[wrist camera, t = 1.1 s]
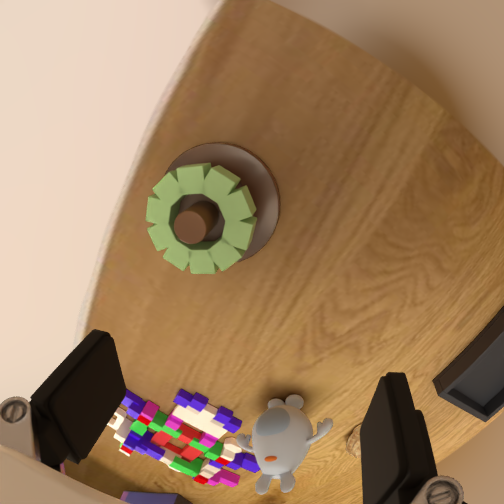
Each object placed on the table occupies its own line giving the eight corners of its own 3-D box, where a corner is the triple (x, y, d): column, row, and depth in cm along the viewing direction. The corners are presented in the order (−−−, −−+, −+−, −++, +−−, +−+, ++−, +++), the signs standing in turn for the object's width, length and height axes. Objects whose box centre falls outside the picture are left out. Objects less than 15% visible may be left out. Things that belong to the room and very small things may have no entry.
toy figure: (323, 371, 31) (321, 470, 20) (339, 408, 33) (340, 498, 21) (232, 392, 34) (203, 480, 23) (255, 425, 36) (236, 507, 25)
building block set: (295, 440, 36) (292, 468, 32) (222, 486, 44) (216, 507, 40) (117, 342, 34) (98, 365, 30) (89, 415, 42) (77, 433, 38)
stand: (197, 120, 24) (160, 118, 18) (304, 186, 25) (302, 206, 18) (146, 219, 28) (103, 246, 22) (239, 280, 29) (219, 324, 22)
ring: (184, 143, 21) (174, 145, 20) (277, 201, 22) (274, 207, 20) (141, 228, 24) (130, 236, 22) (223, 282, 24) (217, 293, 23)
